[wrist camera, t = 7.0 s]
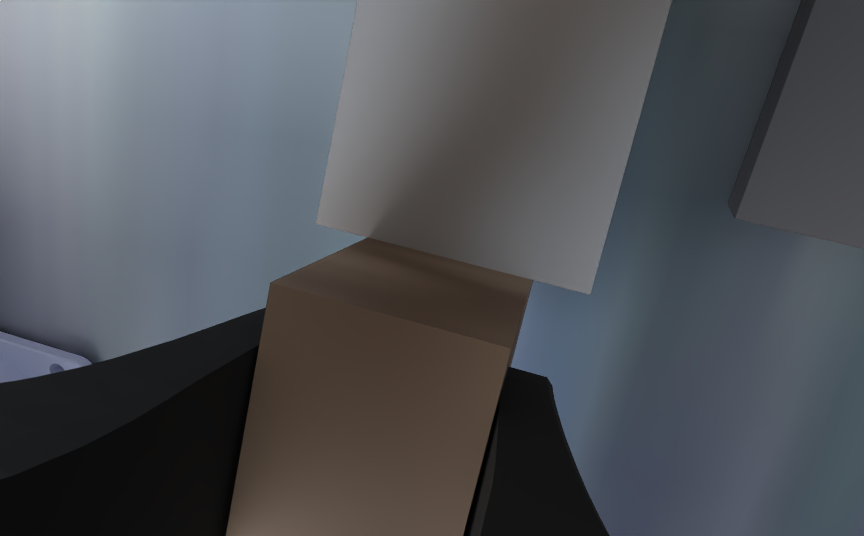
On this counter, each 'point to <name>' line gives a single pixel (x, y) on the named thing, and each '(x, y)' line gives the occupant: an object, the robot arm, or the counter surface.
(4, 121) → the counter surface
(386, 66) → the two-tone stacked blocks
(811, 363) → the counter surface
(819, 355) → the counter surface
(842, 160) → the pad
